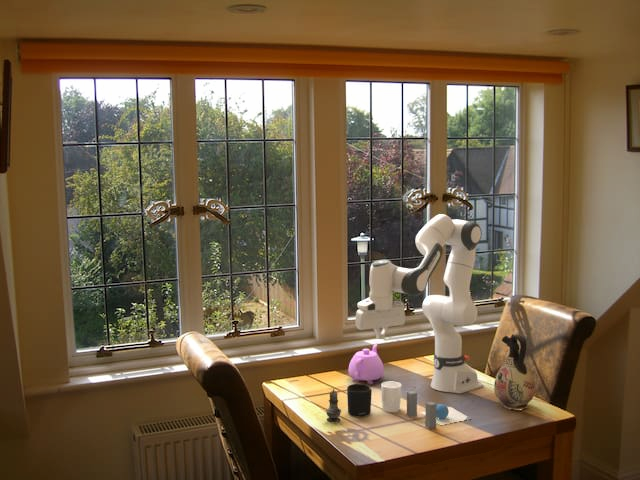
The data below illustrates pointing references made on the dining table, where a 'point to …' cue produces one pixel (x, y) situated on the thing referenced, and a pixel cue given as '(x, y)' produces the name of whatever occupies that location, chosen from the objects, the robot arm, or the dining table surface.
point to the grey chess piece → (333, 408)
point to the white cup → (391, 396)
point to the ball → (441, 411)
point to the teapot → (366, 365)
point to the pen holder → (359, 400)
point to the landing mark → (450, 417)
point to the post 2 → (430, 415)
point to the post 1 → (411, 403)
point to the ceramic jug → (514, 376)
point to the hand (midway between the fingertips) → (380, 338)
